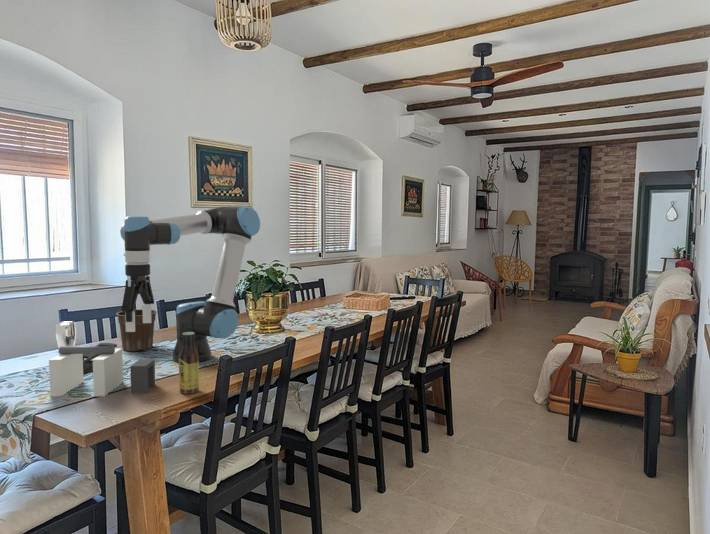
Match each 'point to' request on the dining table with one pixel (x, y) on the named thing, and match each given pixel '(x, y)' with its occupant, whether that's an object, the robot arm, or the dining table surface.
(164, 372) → the dining table surface
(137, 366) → the grey block
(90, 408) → the dining table surface
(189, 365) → the sauce bottle
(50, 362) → the shelf stand
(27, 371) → the dining table surface
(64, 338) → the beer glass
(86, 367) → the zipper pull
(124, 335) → the plant pot
